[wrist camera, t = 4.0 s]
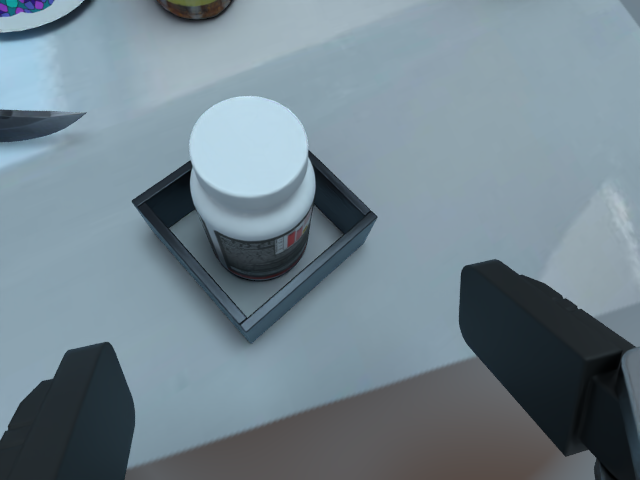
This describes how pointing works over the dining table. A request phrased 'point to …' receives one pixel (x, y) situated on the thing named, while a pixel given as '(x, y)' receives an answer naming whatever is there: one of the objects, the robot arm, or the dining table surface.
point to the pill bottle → (252, 185)
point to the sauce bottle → (195, 7)
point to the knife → (33, 123)
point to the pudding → (32, 13)
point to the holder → (352, 219)
